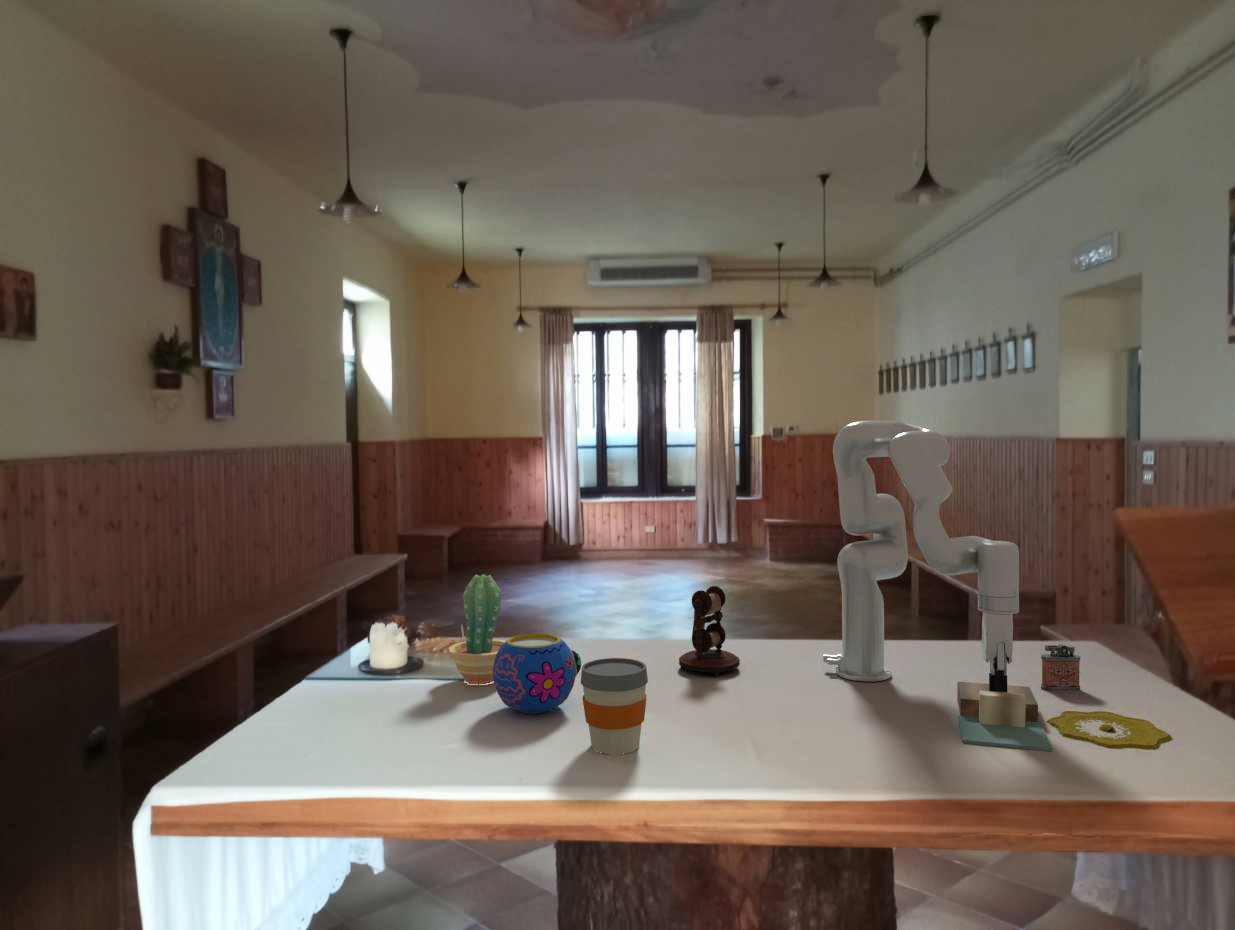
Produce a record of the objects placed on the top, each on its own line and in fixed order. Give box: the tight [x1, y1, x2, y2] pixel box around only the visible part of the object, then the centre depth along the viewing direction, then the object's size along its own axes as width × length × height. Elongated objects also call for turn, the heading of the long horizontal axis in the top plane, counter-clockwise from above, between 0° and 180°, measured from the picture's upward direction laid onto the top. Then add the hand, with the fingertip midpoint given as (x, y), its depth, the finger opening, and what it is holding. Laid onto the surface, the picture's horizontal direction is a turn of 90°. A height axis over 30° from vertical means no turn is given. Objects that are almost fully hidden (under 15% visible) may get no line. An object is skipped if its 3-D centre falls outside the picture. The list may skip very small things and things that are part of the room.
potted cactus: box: [448, 573, 507, 685], centre depth 203 cm, size 15×15×25 cm
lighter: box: [1040, 643, 1081, 693], centre depth 189 cm, size 8×3×10 cm, turn 84°
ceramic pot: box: [493, 633, 582, 714], centre depth 181 cm, size 18×18×15 cm
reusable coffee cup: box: [580, 657, 649, 755], centre depth 160 cm, size 12×13×15 cm
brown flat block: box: [956, 681, 1039, 722], centre depth 175 cm, size 14×12×4 cm
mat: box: [957, 714, 1053, 752], centre depth 163 cm, size 15×14×1 cm
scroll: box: [678, 585, 741, 678], centre depth 209 cm, size 15×15×20 cm
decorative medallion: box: [1046, 710, 1173, 750], centre depth 164 cm, size 20×20×1 cm
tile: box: [979, 691, 1026, 727], centre depth 166 cm, size 8×6×2 cm
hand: (998, 693), depth 172 cm, fingers closed
